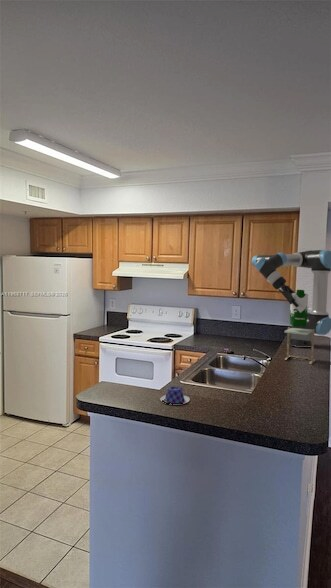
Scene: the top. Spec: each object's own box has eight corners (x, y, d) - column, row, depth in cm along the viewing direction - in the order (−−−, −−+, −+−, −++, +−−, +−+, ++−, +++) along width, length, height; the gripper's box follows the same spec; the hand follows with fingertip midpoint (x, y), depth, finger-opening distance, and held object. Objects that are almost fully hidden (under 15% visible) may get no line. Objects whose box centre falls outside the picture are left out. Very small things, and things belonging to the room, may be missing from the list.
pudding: (160, 395, 158) (160, 383, 157) (188, 395, 158) (188, 383, 158) (160, 406, 146) (160, 393, 145) (190, 406, 146) (191, 393, 146)
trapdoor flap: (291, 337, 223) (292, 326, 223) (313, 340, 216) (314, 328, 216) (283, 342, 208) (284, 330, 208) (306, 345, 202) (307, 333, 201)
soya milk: (291, 326, 205) (293, 290, 203) (288, 324, 214) (289, 289, 212) (308, 327, 204) (309, 290, 202) (304, 324, 213) (305, 289, 211)
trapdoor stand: (289, 357, 225) (290, 325, 223) (315, 360, 217) (316, 328, 215) (284, 360, 216) (285, 328, 214) (311, 364, 208) (312, 330, 206)
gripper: (277, 284, 225) (304, 312, 217) (265, 285, 206) (294, 316, 199) (286, 275, 221) (314, 304, 214) (275, 276, 203) (305, 307, 196)
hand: (304, 310), depth 207 cm, fingers closed on soya milk, 9 cm apart
